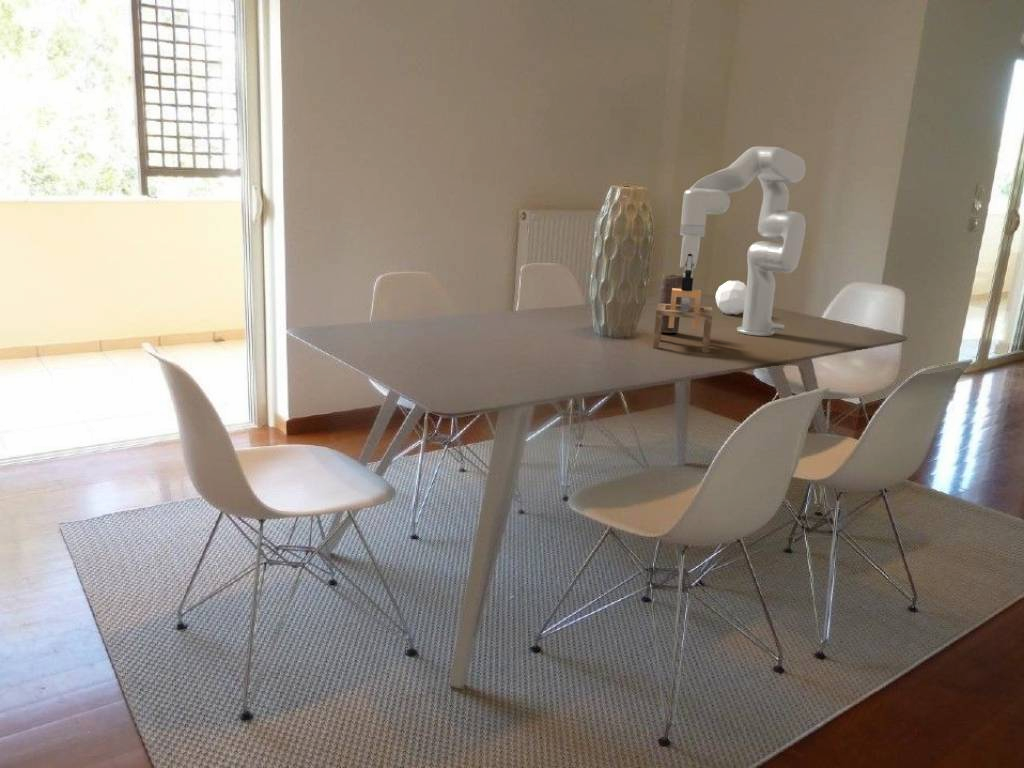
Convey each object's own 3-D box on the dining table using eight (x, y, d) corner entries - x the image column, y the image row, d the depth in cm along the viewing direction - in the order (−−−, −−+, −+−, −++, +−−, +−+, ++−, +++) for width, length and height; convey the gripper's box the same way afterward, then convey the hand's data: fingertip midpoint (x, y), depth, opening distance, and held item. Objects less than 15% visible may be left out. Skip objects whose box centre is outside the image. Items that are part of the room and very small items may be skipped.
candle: (677, 336, 293) (683, 276, 288) (655, 334, 294) (661, 275, 289) (678, 332, 300) (684, 274, 295) (656, 330, 302) (662, 272, 297)
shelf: (707, 343, 284) (711, 307, 280) (708, 353, 270) (712, 314, 267) (655, 339, 287) (658, 303, 284) (652, 348, 273) (656, 310, 270)
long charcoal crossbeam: (688, 305, 282) (689, 298, 281) (688, 312, 269) (689, 305, 268) (681, 304, 282) (681, 297, 282) (680, 312, 269) (681, 304, 268)
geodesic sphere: (739, 295, 351) (727, 268, 344) (765, 301, 340) (752, 273, 333) (716, 318, 348) (703, 291, 341) (740, 324, 336) (728, 297, 329)
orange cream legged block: (697, 327, 278) (702, 274, 274) (697, 330, 274) (702, 276, 270) (668, 325, 280) (673, 272, 276) (668, 327, 276) (673, 274, 271)
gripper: (680, 227, 278) (675, 285, 283) (679, 232, 262) (673, 292, 267) (704, 229, 276) (698, 286, 281) (705, 233, 260) (698, 294, 265)
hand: (686, 288), depth 274 cm, fingers closed on orange cream legged block, 4 cm apart
